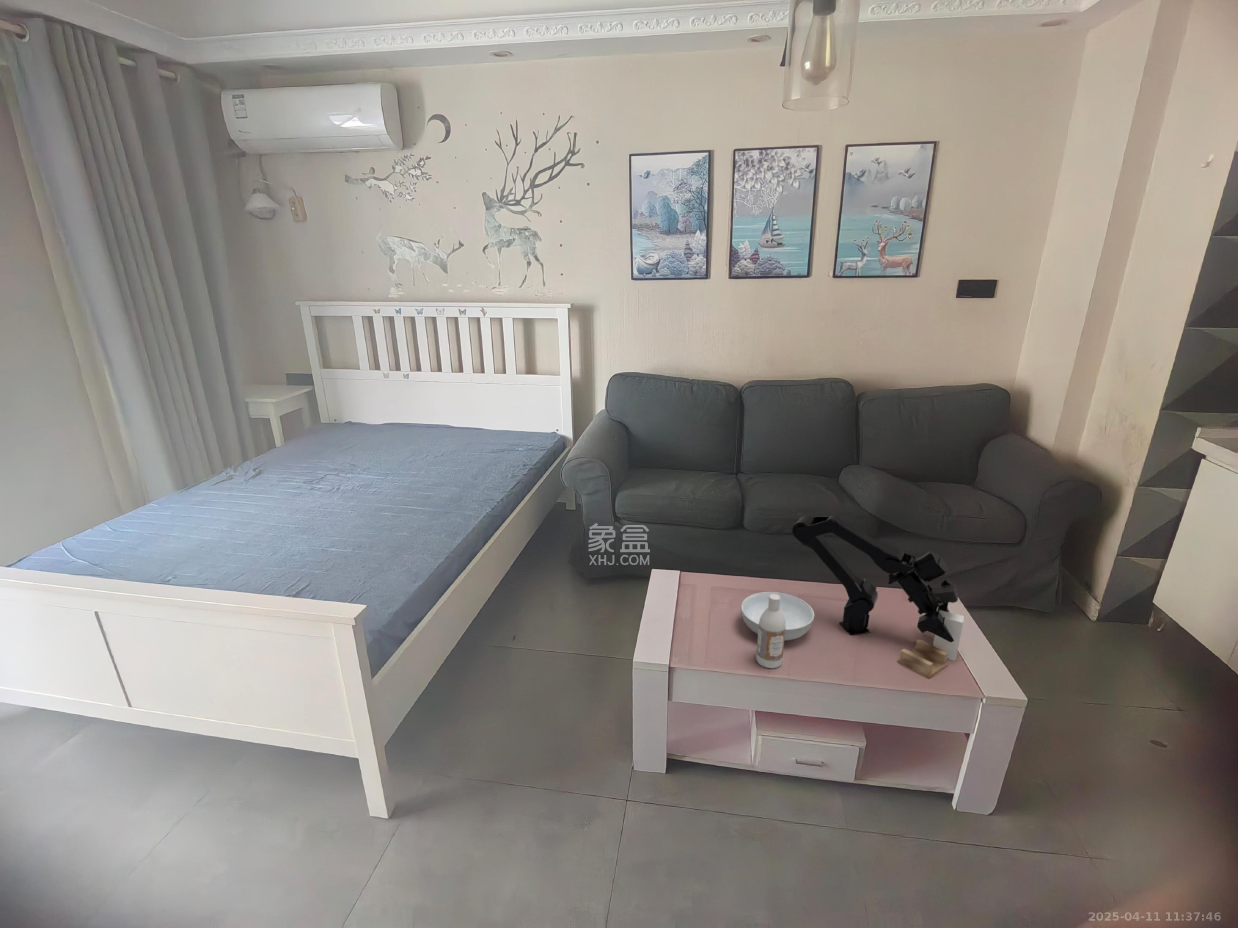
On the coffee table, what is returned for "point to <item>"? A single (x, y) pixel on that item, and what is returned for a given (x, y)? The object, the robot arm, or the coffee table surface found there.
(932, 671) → the slot holder
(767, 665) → the bath foam
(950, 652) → the white rectangular box
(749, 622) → the serving bowl
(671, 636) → the coffee table surface
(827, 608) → the coffee table surface
